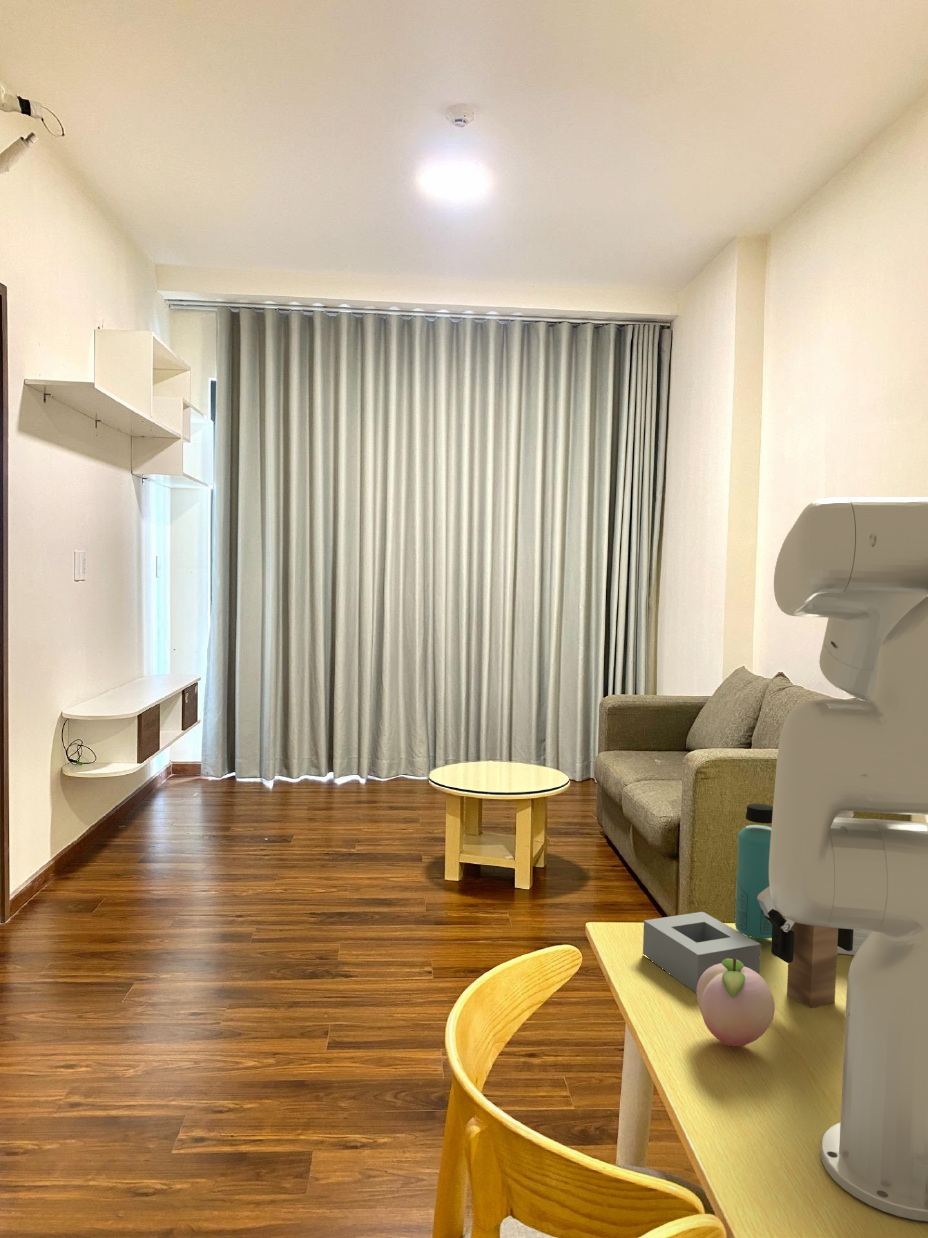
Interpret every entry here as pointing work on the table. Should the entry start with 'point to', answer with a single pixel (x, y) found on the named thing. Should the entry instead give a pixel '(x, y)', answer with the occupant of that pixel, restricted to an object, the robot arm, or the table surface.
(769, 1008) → the decorative fruit
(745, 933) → the beverage bottle
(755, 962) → the socket block
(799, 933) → the walnut peg
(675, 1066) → the table surface
